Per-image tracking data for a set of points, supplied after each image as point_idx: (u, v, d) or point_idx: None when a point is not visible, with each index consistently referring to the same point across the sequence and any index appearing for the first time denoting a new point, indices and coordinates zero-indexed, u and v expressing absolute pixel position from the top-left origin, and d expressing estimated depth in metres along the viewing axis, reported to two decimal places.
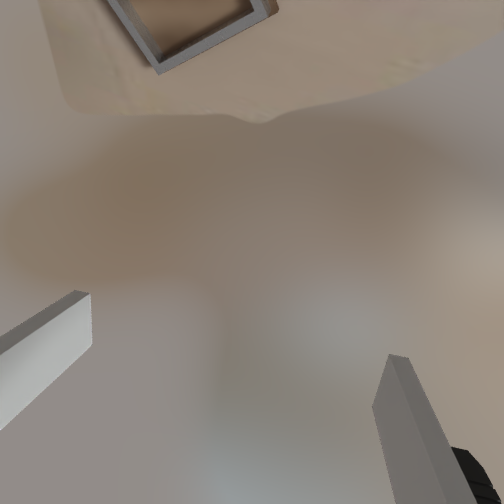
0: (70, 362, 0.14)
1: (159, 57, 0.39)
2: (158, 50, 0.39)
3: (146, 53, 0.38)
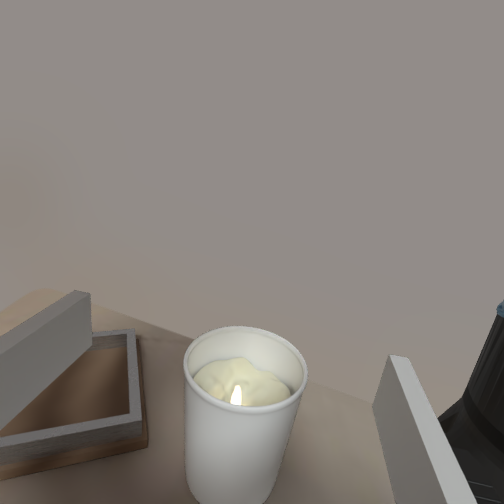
0: (70, 362, 0.14)
1: None
2: None
3: None
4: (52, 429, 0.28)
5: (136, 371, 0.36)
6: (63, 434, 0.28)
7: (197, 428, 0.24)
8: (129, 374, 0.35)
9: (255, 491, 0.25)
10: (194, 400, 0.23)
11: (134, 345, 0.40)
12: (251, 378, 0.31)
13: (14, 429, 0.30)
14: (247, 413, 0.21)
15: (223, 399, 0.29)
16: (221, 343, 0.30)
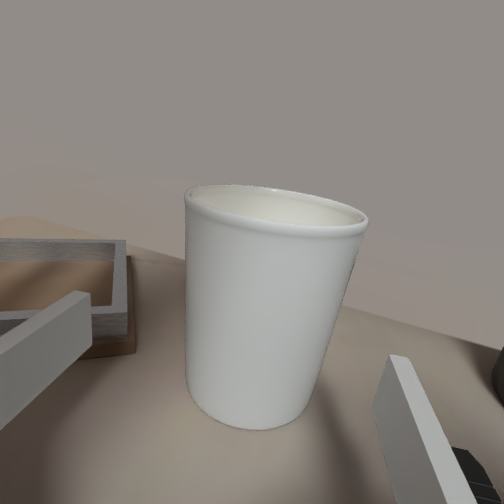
0: (70, 362, 0.14)
1: None
2: None
3: None
4: (0, 313, 0.20)
5: (124, 271, 0.28)
6: (15, 318, 0.20)
7: (204, 282, 0.16)
8: (115, 273, 0.27)
9: (289, 390, 0.17)
10: (200, 234, 0.15)
11: (124, 252, 0.32)
12: None
13: None
14: (286, 233, 0.13)
15: None
16: (236, 209, 0.22)
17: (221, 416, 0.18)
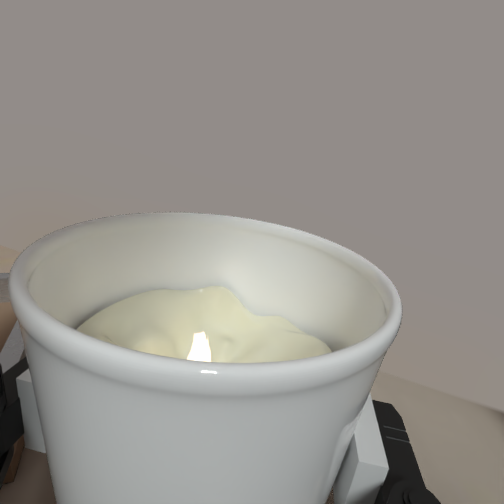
0: None
1: None
2: None
3: None
4: None
5: None
6: None
7: (49, 449, 0.07)
8: (12, 334, 0.18)
9: None
10: (26, 352, 0.07)
11: None
12: (239, 332, 0.14)
13: None
14: (202, 391, 0.05)
15: None
16: (173, 251, 0.14)
17: None
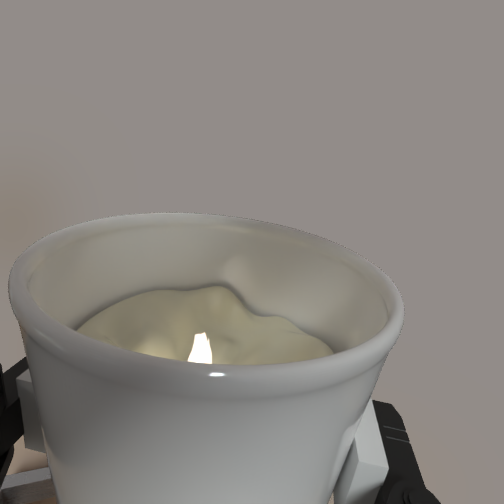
0: None
1: (9, 496, 0.23)
2: (19, 499, 0.24)
3: (30, 474, 0.24)
4: None
5: None
6: None
7: (50, 451, 0.07)
8: None
9: None
10: (26, 354, 0.07)
11: None
12: (240, 332, 0.14)
13: None
14: (203, 394, 0.05)
15: None
16: (173, 252, 0.14)
17: None
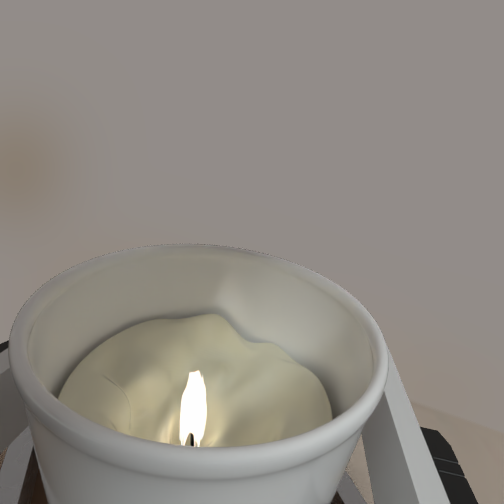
0: None
1: None
2: None
3: None
4: None
5: (356, 492, 0.15)
6: None
7: None
8: None
9: None
10: (27, 419, 0.07)
11: None
12: (233, 358, 0.15)
13: None
14: (198, 477, 0.05)
15: (167, 404, 0.12)
16: (167, 282, 0.14)
17: None
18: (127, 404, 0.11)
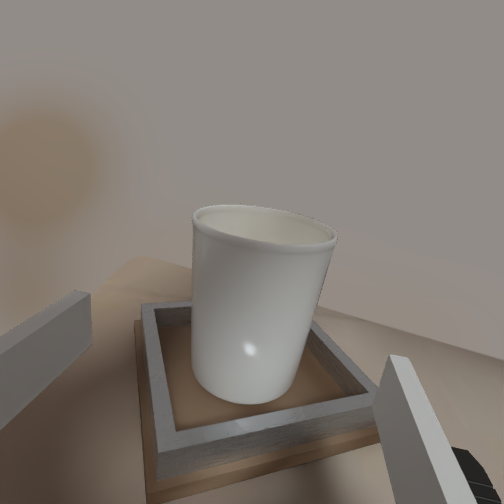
0: (70, 362, 0.14)
1: (157, 317, 0.29)
2: (164, 322, 0.29)
3: (170, 303, 0.30)
4: (290, 411, 0.20)
5: (332, 342, 0.27)
6: (309, 418, 0.19)
7: (210, 287, 0.20)
8: (327, 345, 0.27)
9: (276, 371, 0.22)
10: (207, 250, 0.19)
11: None
12: None
13: (218, 412, 0.21)
14: (274, 250, 0.18)
15: None
16: (232, 224, 0.26)
17: (222, 394, 0.22)
18: None
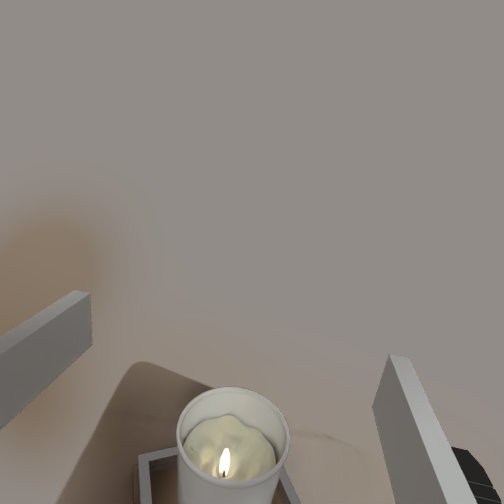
0: (70, 362, 0.14)
1: (152, 466, 0.35)
2: (157, 468, 0.36)
3: (162, 451, 0.36)
4: None
5: (294, 493, 0.34)
6: None
7: (189, 496, 0.26)
8: (289, 498, 0.33)
9: None
10: (186, 472, 0.25)
11: None
12: (239, 434, 0.33)
13: None
14: (234, 487, 0.24)
15: (213, 458, 0.31)
16: (211, 403, 0.32)
17: None
18: (201, 460, 0.29)
